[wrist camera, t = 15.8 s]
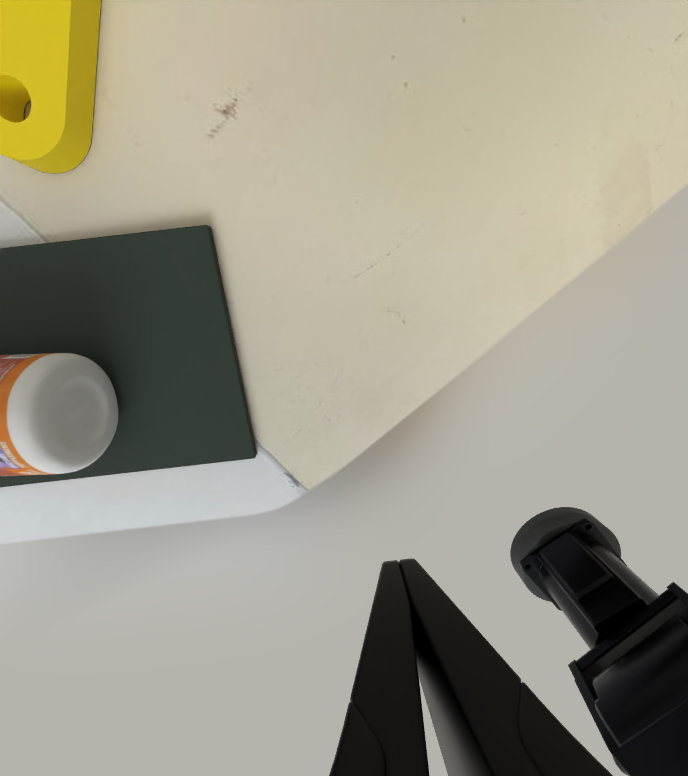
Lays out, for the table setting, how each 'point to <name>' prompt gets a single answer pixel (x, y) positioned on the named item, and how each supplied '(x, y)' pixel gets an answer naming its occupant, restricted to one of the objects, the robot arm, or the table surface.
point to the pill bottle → (53, 413)
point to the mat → (136, 342)
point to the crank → (48, 81)
